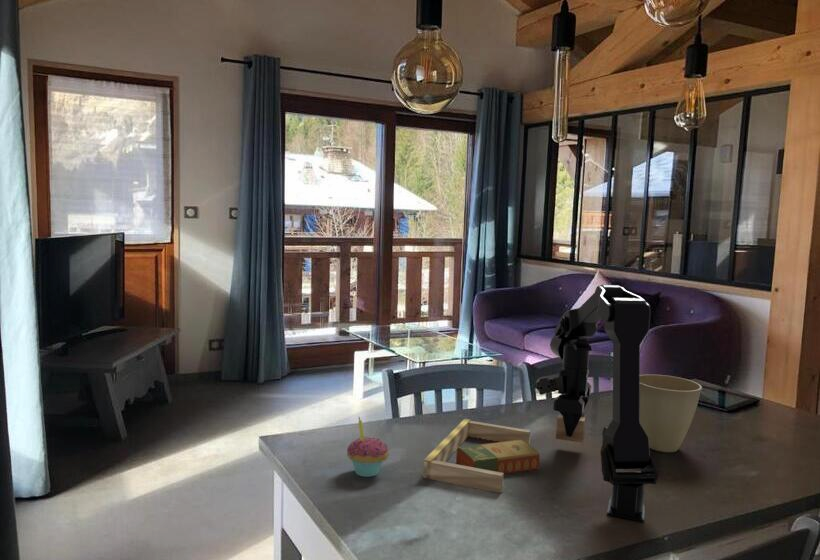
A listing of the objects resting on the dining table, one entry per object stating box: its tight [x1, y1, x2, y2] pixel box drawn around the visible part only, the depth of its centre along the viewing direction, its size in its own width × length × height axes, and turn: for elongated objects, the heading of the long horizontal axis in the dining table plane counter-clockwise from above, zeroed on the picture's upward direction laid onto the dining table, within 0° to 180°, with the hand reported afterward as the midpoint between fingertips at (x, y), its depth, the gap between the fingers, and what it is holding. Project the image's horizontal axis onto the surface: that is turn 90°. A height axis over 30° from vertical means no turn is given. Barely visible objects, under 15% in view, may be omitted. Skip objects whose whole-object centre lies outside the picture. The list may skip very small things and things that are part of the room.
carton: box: [455, 440, 540, 474], centre depth 142 cm, size 8×16×4 cm, turn 111°
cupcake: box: [346, 416, 389, 478], centre depth 136 cm, size 9×8×12 cm
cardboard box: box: [555, 411, 587, 444], centre depth 152 cm, size 6×6×5 cm
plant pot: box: [640, 373, 703, 453], centre depth 157 cm, size 15×15×16 cm
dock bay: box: [422, 418, 532, 494], centre depth 145 cm, size 29×16×4 cm, turn 159°
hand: (570, 432), depth 153 cm, fingers closed on cardboard box, 6 cm apart
